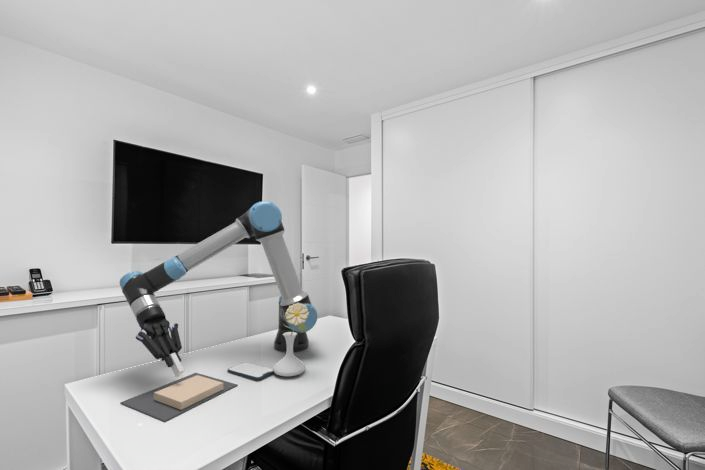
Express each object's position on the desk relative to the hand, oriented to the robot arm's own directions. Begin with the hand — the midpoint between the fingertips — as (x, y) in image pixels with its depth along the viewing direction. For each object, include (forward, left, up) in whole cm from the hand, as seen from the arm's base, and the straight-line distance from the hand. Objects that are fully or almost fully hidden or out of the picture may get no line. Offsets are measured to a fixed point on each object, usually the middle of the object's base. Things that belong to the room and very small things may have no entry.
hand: (179, 373), depth 98 cm
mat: (-1, 0, -6) cm, 6 cm away
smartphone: (-17, -16, -7) cm, 24 cm away
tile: (+1, -1, -4) cm, 5 cm away
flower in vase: (-32, -15, -6) cm, 35 cm away
